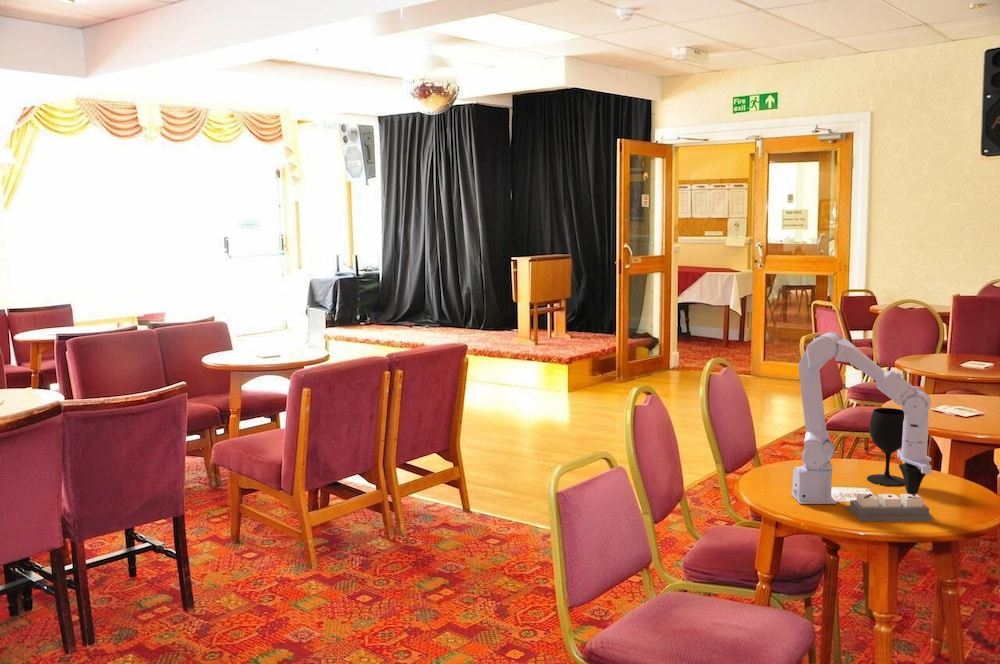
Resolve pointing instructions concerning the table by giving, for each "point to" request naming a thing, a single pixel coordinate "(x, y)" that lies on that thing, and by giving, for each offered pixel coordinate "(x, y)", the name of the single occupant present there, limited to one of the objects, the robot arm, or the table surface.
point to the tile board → (889, 513)
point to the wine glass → (887, 440)
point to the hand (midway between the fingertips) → (911, 493)
